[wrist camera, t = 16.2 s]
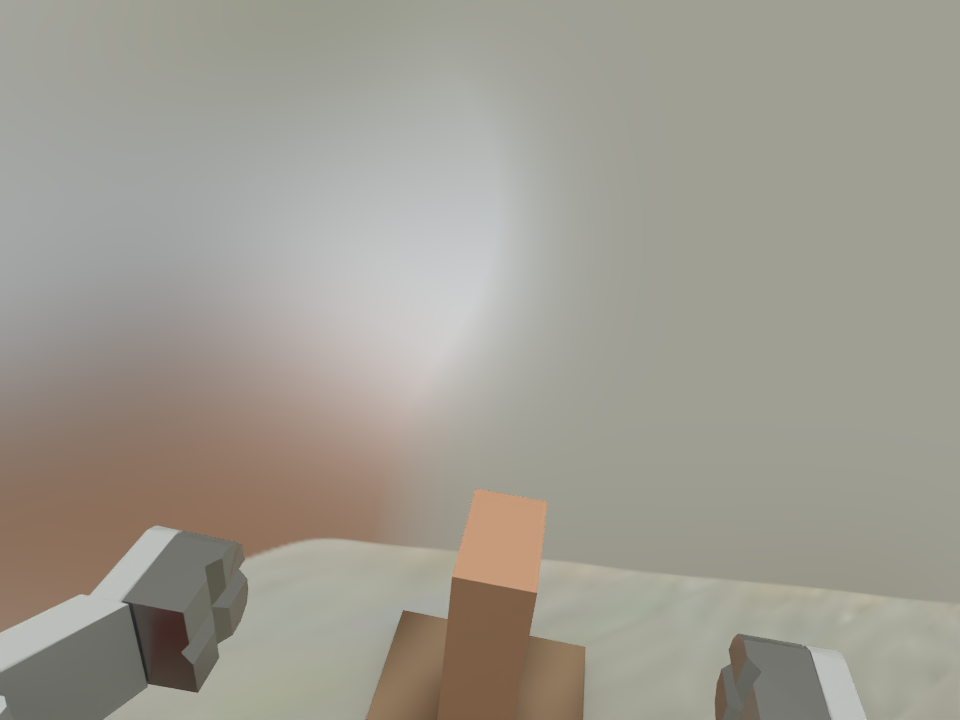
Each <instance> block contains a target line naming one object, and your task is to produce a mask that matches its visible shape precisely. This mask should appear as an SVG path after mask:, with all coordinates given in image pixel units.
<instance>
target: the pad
mask: <svg viewBox="0 0 960 720" xmlns="http://www.w3.org/2000/svg"><path fill="white" fill-rule="evenodd" d="M447 623H448V619H444V618H439V617H434V616H429V615H424V614H419V613H414V612H409V611H404V610H403V612H402V615H401V618H400V621H399V624H398V627H397V630H396V633H395V636H394V639H393V642H392V645H391V648H390V651H389V654H388V657H387V660H386V662H385V665H384V668H383V671H382V674H381V677H380V680H379V683H378V686H377V689H376V692H375V695H374V698H373V701H372V704H371V707H370V710H369V713H368V716H367V719H366V720H437V718H438V708H439V699H440V689H441V680H442V670H443V661H444V651H445V642H446V632H447ZM584 671H585V647H582V646H577V645H572V644H567V643H562V642H557V641H552V640H547V639H543V638H538V637H533V636H529V639H528V644H527V650H526V655H525V660H524V666H523V671H522V676H521V681H520V687H519V692H518V697H517V703H516V708H515V713H514V719H513V720H583V701H584Z"/></svg>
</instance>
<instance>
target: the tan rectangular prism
mask: <svg viewBox="0 0 960 720" xmlns="http://www.w3.org/2000/svg"><path fill="white" fill-rule="evenodd" d="M546 509H547V501H542V500H536V499H530V498H524V497H519V496H514V495H508V494H503V493H497V492H491V491H486V490H480V489H475V493H474V497H473V501H472V504H471V508H470V512H469V516H468V519H467V523H466V527H465V531H464V535H463V538H462V542H461V547H460V550H459V553H458V557H457V561H456V565H455V568H454V572H453V576H452V584H451V594H450V604H449V613H448V623H447V632H446V642H445V651H444V661H443V670H442V680H441V689H440V699H439V708H438V718H437V720H513V719H514V713H515V708H516V703H517V697H518V692H519V687H520V681H521V676H522V671H523V666H524V660H525V655H526V650H527V644H528V639H529V634H530V628H531V623H532V618H533V612H534V607H535V602H536V596H537V590H538V581H539V572H540V563H541V554H542V545H543V536H544V527H545V519H546Z"/></svg>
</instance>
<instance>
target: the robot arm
mask: <svg viewBox="0 0 960 720" xmlns="http://www.w3.org/2000/svg"><path fill="white" fill-rule="evenodd" d="M244 560H245V557H244V552H243V545H242V544H240V543H238V542H235V541H230V540H225V539H220V538H216V537H211V536H206V535H202V534H197V533H192V532H187V531H180V530H175V529H170V528H166V527H161V526H155V527H152V528H150V529H148V530H147V531H146V532H145V533H144V534H143V535H142V536H141V537H140V538H139V540H138V541H137V542H136V543H135V544H134V545H133V546H132V548H131V549H130V550H129V551H128V552H127V553H126V554H125V555H124V557H123V558H122V559H121V560H120V561H119V562H118V564H116V566H115V567H114V568H113V569H112V570H111V571H110V572H109V574H108V575H107V576H106V577H105V578H104V579H103V580H102V582H101V583H100V584H99V585H98V586H97V587H96V588H95V590H94V591H93V592H92V593H91V594H90V595H89V596H87V595H81V594H80V595H78V596H76V597H74V598H72V599H70V600H68V601H66V602H64V603H61V604H59V605H57V606H55V607H53V608H51V609H49V610H47V611H45V612H43V613H41V614H39V615H37V616H34V617H32V618H30V619H28V620H26V621H24V622H22V623H20V624H18V625H16V626H14V627H12V628H10V629H7V630H5V631H3V632H1V633H0V720H103V719H104V718H106V717H107V716H108V715H110V714H111V713H112V712H114V711H115V710H117V709H118V708H119V707H121V706H122V705H123V704H125V703H126V702H128V701H129V700H130V699H132V698H133V697H134V696H136V695H137V694H139V693H140V692H141V691H143V690H144V689H145V688H147V686H148V685H147V684H152V685H158V686H164V687H169V688H175V689H180V690H186V691H191V692H197V693H198V692H199V690H200V688H201V687H202V685H203V683H204V682H205V680H206V679H207V677H208V675H209V674H210V672H211V670H212V669H213V667H214V665H215V664H216V662H217V660H218V659H219V654H218V647H217V644H219V643H220V642H222V641H223V640H225V639H227V638H228V637H230V636H232V635H233V633H234V631H235V630H236V628H237V626H238V624H239V623H240V621H241V618H242V615H243V612H244V609H245V606H246V603H247V595H248V583H247V578H246V577H245V576H244V574H243V573H242V572H241V571H240V570H239V567H240V566H241V564H242V563H243V561H244ZM729 653H730V659H731V664H730V665H728V666H726V667H724V668H723V669H722V670H721V673H720V676H719V679H718V682H717V688H716V697H715V716H716V720H867V717H866V714H865V712H864V709H863V706H862V704H861V701H860V698H859V695H858V693H857V690H856V687H855V685H854V682H853V679H852V676H851V674H850V671H849V668H848V666H847V663H846V660H845V658H844V657H843V655H842V654H841V653H840V652H839V651H833V650H828V649H822V648H816V647H811V646H802V645H801V644H795V643H789V642H783V641H778V640H772V639H766V638H760V637H754V636H749V635H743V634H737V635H736V636H735V637H734V638H733V640H732V643H731V646H730V648H729Z"/></svg>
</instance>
